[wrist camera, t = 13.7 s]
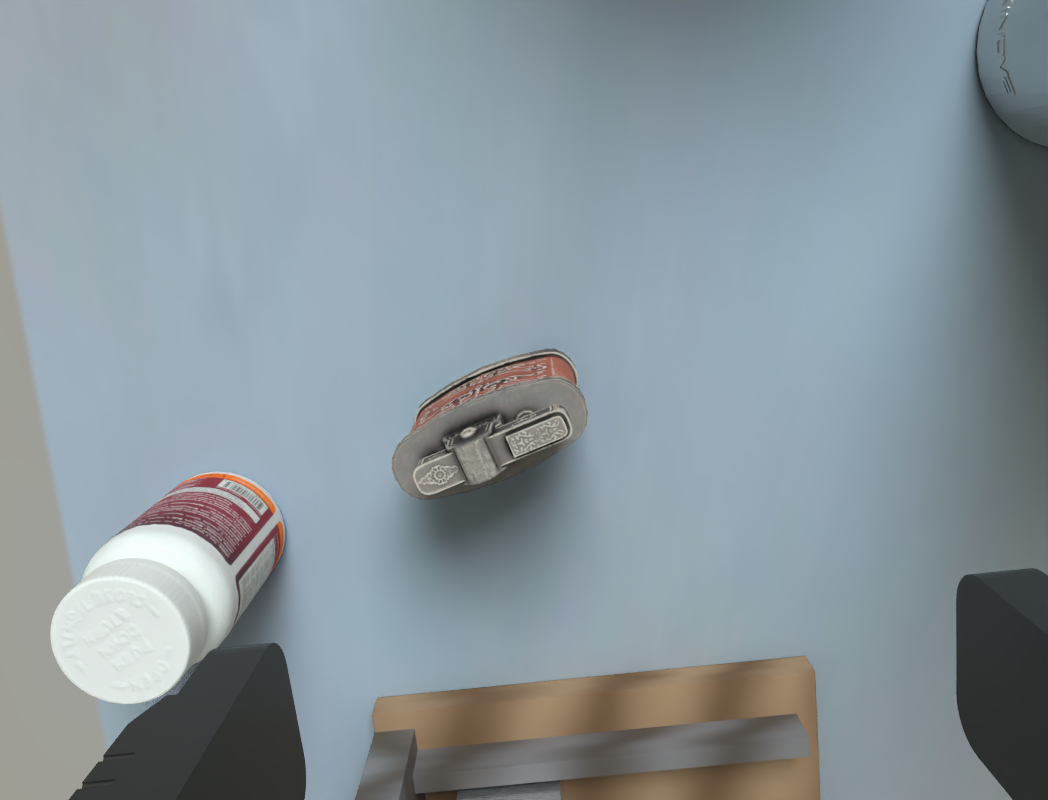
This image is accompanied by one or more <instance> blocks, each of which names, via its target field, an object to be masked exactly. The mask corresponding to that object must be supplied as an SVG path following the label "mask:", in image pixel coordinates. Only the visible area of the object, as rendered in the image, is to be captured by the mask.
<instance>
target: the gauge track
mask: <svg viewBox="0 0 1048 800" xmlns="http://www.w3.org/2000/svg"><path fill="white" fill-rule="evenodd" d="M372 717H373V723H374V729H375V734H374V738H373V741H372V744H371V748H370V751H369V754H368V758H367V761H366V765H365V768H364V771H363V775H362V778H361V781H360V785H359V788H358V791H357V795H356V798H355V800H457V792H458V790H460V789H471V788H481V787H492V786H503V785H513V784H524V783H535V782H545V781H556V780H561V785H562V793H563V800H820V778H819V754H818V730H817V706H816V681H815V671H814V669H813V667H812V666H811V664H810V663H809V661H808V659H807V658H806V656H799V657H789V658H779V659H769V660H759V661H748V662H738V663H728V664H718V665H707V666H697V667H687V668H677V669H667V670H656V671H646V672H636V673H626V674H615V675H605V676H595V677H585V678H575V679H564V680H554V681H544V682H534V683H523V684H513V685H503V686H493V687H483V688H472V689H462V690H452V691H442V692H431V693H421V694H411V695H401V696H391V697H380V698H377V700H376V704H375V707H374V710H373V713H372Z"/></svg>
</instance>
